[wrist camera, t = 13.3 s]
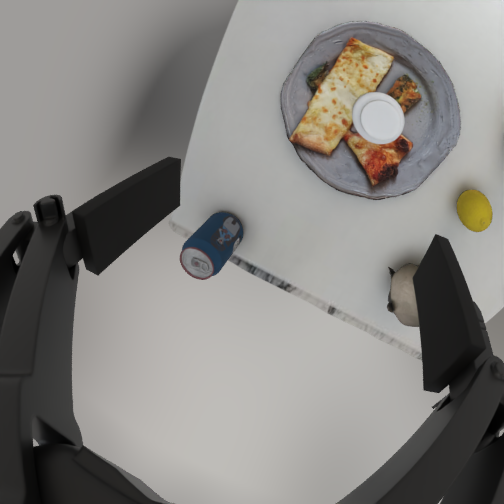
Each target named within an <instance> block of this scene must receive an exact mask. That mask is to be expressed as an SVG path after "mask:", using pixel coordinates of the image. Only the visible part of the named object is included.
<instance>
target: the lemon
mask: <svg viewBox="0 0 504 504" xmlns="http://www.w3.org/2000/svg"><path fill="white" fill-rule="evenodd" d="M457 213H458V216H459V219H460V220H461V222H462V223H463V225H464V226H466V227H467V228H468V229H469V230H471V231H474V232H481V231H483V230H485V229H486V228H488V226H489V225H490V223H491V220H492V208H491V205H490V203H489V201H488V199H487V198H486V197H485V195H484V194H482V193H481V192H479V191H477V190H467V191H465V192H463V193H462V194H461V195H460V197H459V198H458V201H457Z"/></svg>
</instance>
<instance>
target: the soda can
mask: <svg viewBox="0 0 504 504" xmlns="http://www.w3.org/2000/svg"><path fill="white" fill-rule="evenodd" d="M242 238H243V228H242V225H241V223H240V221H239V220H238V219H237V218H236V217H235V216H234V215H232V214H229V213H224V212H219V213H215V214H213V215H212V216H211V217H210V218H209V219H208V220H207V221H206V222H205V223H204V224H203V225H202V226H201V227H200V228H199V229H198V230H197V231H196V232H195V233H194V234H193V235H192V236H191V237H190V238H189V239H188V240H187V241H186V242H185V243H184V245H183V248H182V252H181V254H180V263H181V265H182V267H183V269H184V270H185V271H186V272H187V273H188V274H189V275H190V276H192V277H194V278H196V279H201V280H205V279H208V278H210V277H211V276H214V275H216V274H217V273H219V271H220V270H221V268H222V267H223V266H224V264H225V263H226V262H227V260H228V259H229V257H230V256H231V255H232V253H233V252H234V251H235V249H236V248H237V246H238V245H239V244H240V242H241V241H242Z"/></svg>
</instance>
